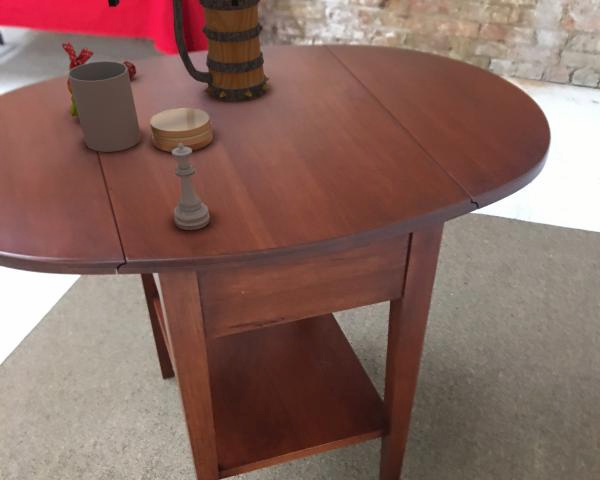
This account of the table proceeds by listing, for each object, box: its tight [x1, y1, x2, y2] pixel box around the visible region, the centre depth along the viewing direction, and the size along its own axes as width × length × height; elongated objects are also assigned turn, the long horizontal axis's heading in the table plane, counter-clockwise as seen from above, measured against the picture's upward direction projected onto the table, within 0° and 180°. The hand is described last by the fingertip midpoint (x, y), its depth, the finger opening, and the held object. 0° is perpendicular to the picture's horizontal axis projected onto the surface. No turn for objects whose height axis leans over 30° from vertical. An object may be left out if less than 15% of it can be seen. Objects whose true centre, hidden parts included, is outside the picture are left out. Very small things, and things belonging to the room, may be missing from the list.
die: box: [121, 60, 137, 79], centre depth 116 cm, size 3×3×3 cm
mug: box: [171, 0, 271, 103], centre depth 104 cm, size 13×17×20 cm
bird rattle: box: [61, 42, 94, 118], centre depth 103 cm, size 6×11×9 cm
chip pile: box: [149, 107, 214, 153], centre depth 97 cm, size 10×9×3 cm
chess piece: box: [171, 143, 211, 231], centre depth 77 cm, size 4×4×10 cm
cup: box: [67, 60, 142, 153], centre depth 95 cm, size 8×8×10 cm
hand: (175, 4), depth 72 cm, fingers open, 13 cm apart
